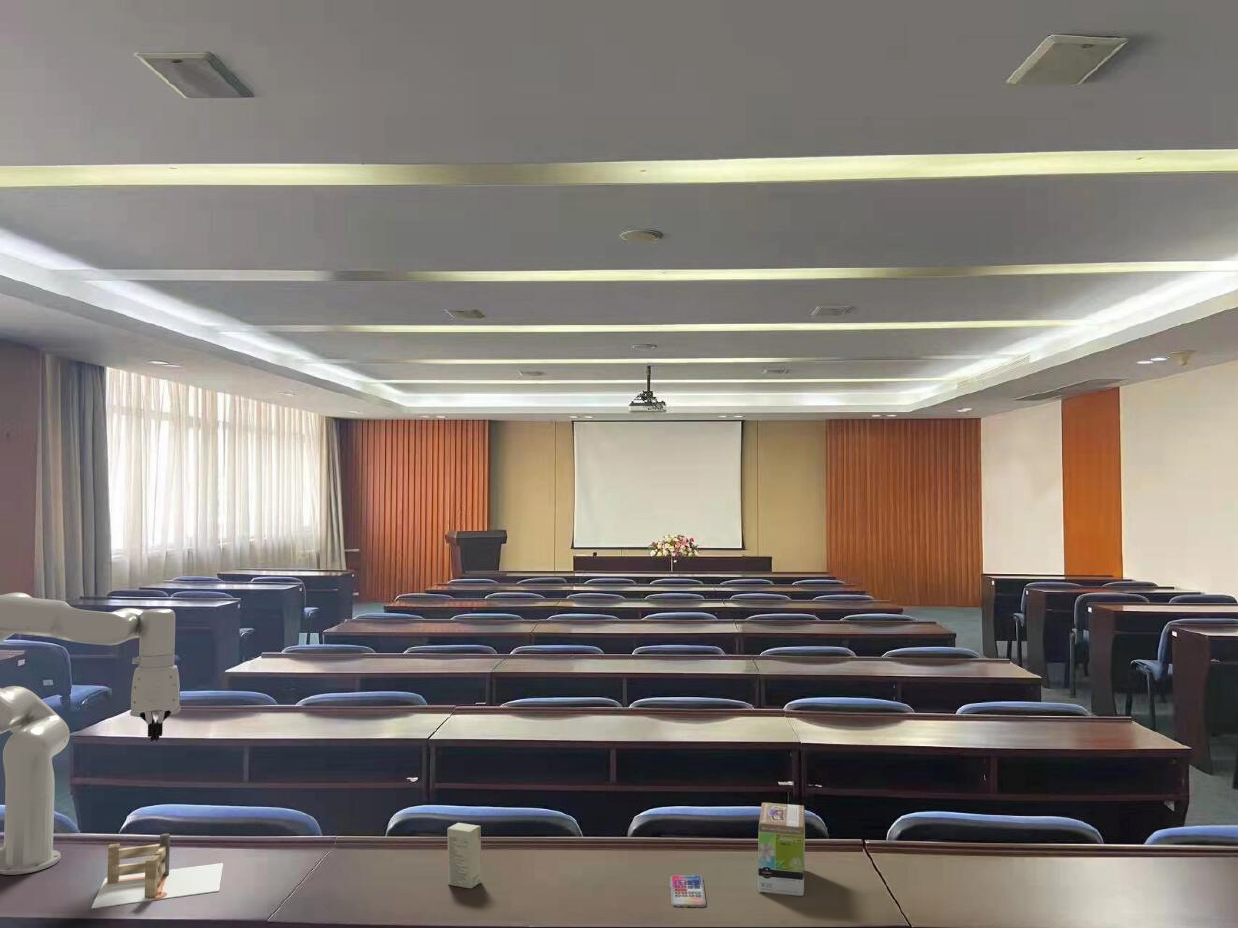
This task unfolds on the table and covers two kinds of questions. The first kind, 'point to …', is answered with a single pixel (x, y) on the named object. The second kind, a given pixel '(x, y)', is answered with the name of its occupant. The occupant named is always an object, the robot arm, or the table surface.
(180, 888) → the card
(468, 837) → the skincare box
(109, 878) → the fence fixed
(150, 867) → the fence gate
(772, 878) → the tea box
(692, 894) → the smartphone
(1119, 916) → the table surface
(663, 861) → the table surface
